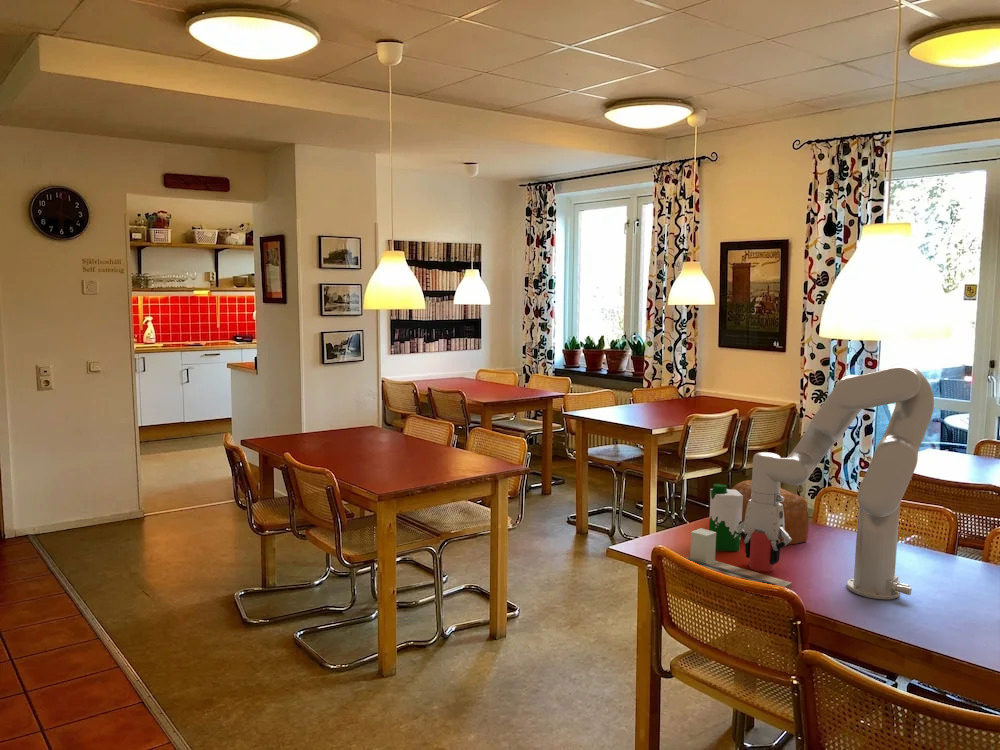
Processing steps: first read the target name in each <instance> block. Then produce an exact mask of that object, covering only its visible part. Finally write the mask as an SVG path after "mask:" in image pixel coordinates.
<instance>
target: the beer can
mask: <svg viewBox="0 0 1000 750" xmlns="http://www.w3.org/2000/svg"><path fill="white" fill-rule="evenodd" d="M772 550H773V547H772V544H771V540H769V539H768V538H767V536H766V534H765V532H763V531H758V530H755V531H754V532H753V533H752V535H751V541H750V557H749V565H748V567H749V569H752V570H754V571H756V572H765V573H767V572H768V573H769V572H772V571H774V570H775V564H774V565H772V564H771V551H772Z"/></svg>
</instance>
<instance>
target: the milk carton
mask: <svg viewBox="0 0 1000 750" xmlns="http://www.w3.org/2000/svg"><path fill="white" fill-rule="evenodd" d="M709 497H710V499H709V520H708V521H709V522H708V524H709V525H708V530H710V531H714V532H716V550H715V552H739V551H740V547H741V539H742V537H741V535H740V533H739V532H738V530H737V529H736V526H738V525H739V524H741V523H742V504H743V495H742V494H740V493H739V492H738V491H737V490H733V489H732V488H731V489H729V488H728V486H727V485H726V484H724V483H714V484H712V488H710V489H709Z"/></svg>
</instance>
